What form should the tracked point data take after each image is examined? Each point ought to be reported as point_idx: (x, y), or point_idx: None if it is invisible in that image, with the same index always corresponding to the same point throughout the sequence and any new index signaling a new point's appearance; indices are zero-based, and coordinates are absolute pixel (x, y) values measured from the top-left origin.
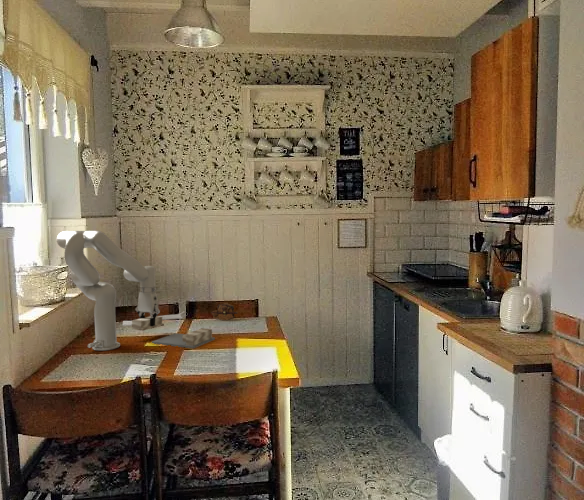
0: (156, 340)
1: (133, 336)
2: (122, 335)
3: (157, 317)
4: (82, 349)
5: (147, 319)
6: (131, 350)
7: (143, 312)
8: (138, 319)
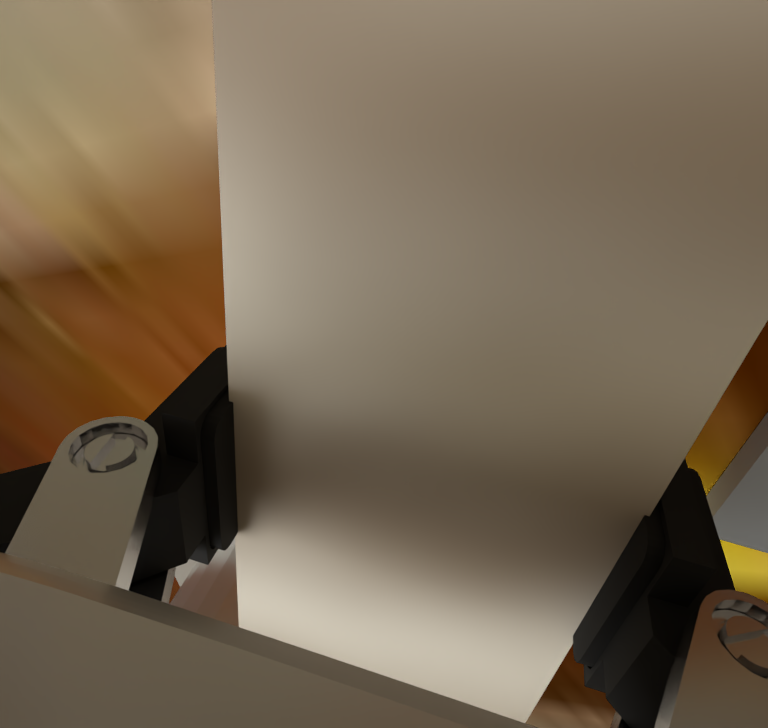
0: (761, 497)
1: (201, 200)
2: (22, 173)
3: (711, 246)
4: (169, 602)
5: (496, 637)
6: (560, 670)
7: (75, 570)
8: (288, 643)
